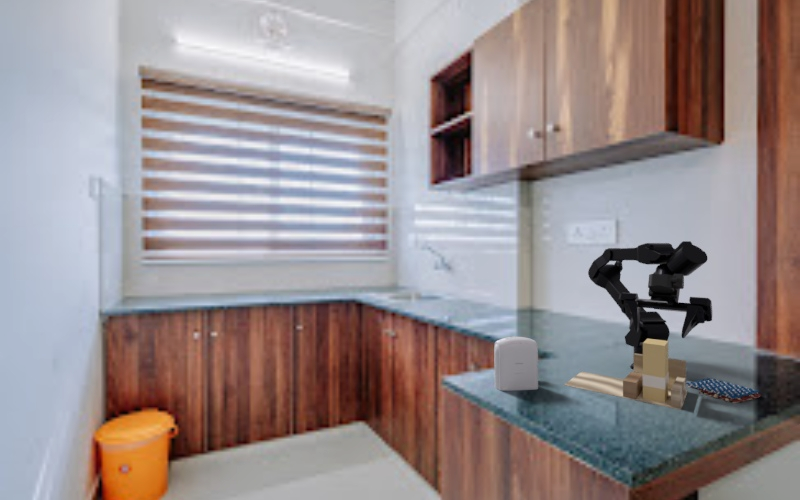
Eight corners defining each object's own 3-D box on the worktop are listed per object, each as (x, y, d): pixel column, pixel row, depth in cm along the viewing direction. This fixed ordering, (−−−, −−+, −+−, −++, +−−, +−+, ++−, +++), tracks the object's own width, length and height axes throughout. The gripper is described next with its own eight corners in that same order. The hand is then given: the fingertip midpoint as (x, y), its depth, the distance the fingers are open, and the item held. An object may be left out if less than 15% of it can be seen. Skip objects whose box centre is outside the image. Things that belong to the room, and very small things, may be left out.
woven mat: (736, 407, 85) (736, 397, 85) (683, 390, 95) (683, 382, 95) (763, 399, 89) (763, 390, 89) (710, 385, 99) (710, 376, 99)
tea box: (647, 390, 91) (647, 338, 91) (668, 395, 89) (668, 340, 89) (642, 398, 87) (642, 343, 87) (665, 402, 84) (665, 345, 84)
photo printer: (497, 393, 91) (497, 339, 91) (491, 387, 95) (491, 335, 95) (541, 392, 92) (541, 338, 92) (533, 386, 96) (533, 334, 96)
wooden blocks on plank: (581, 373, 106) (581, 345, 106) (687, 393, 91) (687, 360, 91) (563, 387, 95) (563, 355, 95) (680, 412, 81) (680, 374, 81)
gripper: (620, 261, 103) (608, 308, 95) (711, 262, 91) (706, 317, 83) (627, 289, 109) (617, 336, 101) (714, 294, 97) (710, 348, 89)
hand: (658, 334), depth 93 cm, fingers open, 9 cm apart
